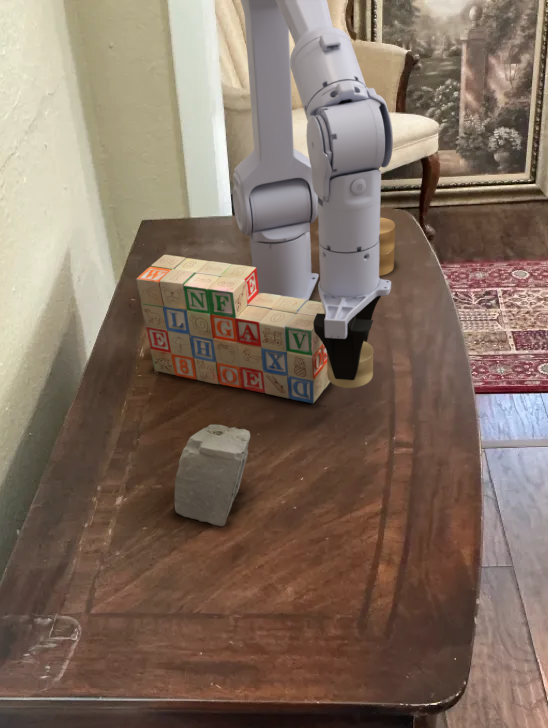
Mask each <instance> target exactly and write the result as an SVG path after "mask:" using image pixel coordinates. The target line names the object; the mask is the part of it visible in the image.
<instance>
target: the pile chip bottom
mask: <svg viewBox="0 0 548 728" xmlns="http://www.w3.org/2000/svg"><path fill="white" fill-rule="evenodd" d="M394 268H395V248H394V249H393V250H392V251H390V252H388V253H386V254H382V255H379V277H382V276H385V275H388V274H390V273H392V271H393V270H394Z"/></svg>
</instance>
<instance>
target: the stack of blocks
mask: <svg viewBox="0 0 548 728" xmlns="http://www.w3.org/2000/svg"><path fill="white" fill-rule="evenodd" d="M135 280H136V285H137V290H138V295H139V298H140V306H141V312H142V315H143V320H144V321H143V322H144V325H145V328H146V334H147V339H148V343H149V347H150V354H151V360H152V365H153V368H154V371H155V372H160V373H164V374H169V375H175V376H176V377H180V378H186V379H190V380H197V381H200V382H204V383H209V384H215V385H222V386H227V387H233V388H237V389H244V390H247V391H251V392H252V391H253V392H258V393H262V394H266V395H270V396H275V397H279V398H280V397H281V398H285V399H290V400H294V401H298V402H304V403H309V404H314V403H315V402H316V401H317V400H318V398H319V397H320V396H321V394H322V393H323V391H324V390H326V388H327V387H328V386H329V384H330V383H331V382H330V381H329V379H328V375H327V351H326V349H325V346H324V345H323V343H322V341H321V340H320V338H319V337H318V335H317V334H316V333H315V331H314V326H313V322H314V319H315V317H316V314H317V313H320V314H325V312H324V309H323V306H322V302H321V301H317V300H316V301H315V300H306V299H300V298H293V297H287V296H281V295H274V294H267V293H260V294H259V293H258V292H259V286H258V277H257V269H256V267H252V266H249V265H242V264H235V263H234V264H233V263H227V262H220V261H212V260H211V261H209V260H203V259H197V258H190V257H184V256H178V255H171V254H163V255H162V256H161V257H160V258H158V259H157V260H156V261H155V262H153V263H152V264H151V265H150V266H149V267H147V268H146V269H145V270H144V271H143V272H142V273H141V274H140V275H138V277H137V278H136V279H135Z"/></svg>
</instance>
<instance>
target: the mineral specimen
mask: <svg viewBox="0 0 548 728" xmlns="http://www.w3.org/2000/svg"><path fill="white" fill-rule="evenodd" d="M250 440H251V431H249V430H247V429H246V428H240V429H239V428H237V427H235V426H233V427H228V426H226V425H223V424H209V425H208V426H207V427H204V428H202V429H201V430H199V431H197V432H196V433H193V434H192V435H191V436H190V437H189V438H188V440H187V443H186V445H185V447H184V448H183V449H182V451H181V452H182V453H181V456H180V457H179V461H178V468H177V471H176V476H175V481H174V495H173V496H174V511H175V513H176V514H178V515H180V516H182V517H184V518H189V519H192V520H198V521H199V522H205V523H209V524H211V525H213V526H217V527H218V526H219V527H224V526H225V524H226V523H227V518H228V516H229V513H230V511H231V509H232V505H233V502H235V498H236V497H237V495H238V492H239V490H240V486H241V482H242V477H243V474H244V470H245V467H246V463H247V458H248V455H249V450H248V448H249V442H250Z"/></svg>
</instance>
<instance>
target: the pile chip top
mask: <svg viewBox="0 0 548 728" xmlns="http://www.w3.org/2000/svg"><path fill="white" fill-rule="evenodd" d="M395 241H396V224H395V222H394V220H391V219H389V218H385V217H380V247H379V255H382V254H386V253H388V252H390V251H392V250H393V249H394V250H395Z"/></svg>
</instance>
